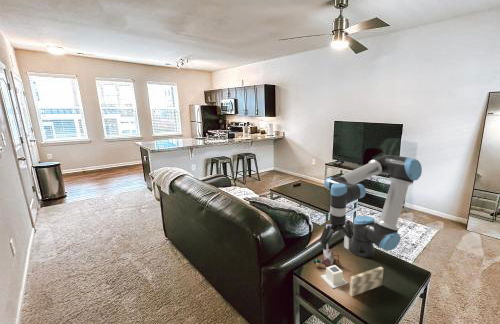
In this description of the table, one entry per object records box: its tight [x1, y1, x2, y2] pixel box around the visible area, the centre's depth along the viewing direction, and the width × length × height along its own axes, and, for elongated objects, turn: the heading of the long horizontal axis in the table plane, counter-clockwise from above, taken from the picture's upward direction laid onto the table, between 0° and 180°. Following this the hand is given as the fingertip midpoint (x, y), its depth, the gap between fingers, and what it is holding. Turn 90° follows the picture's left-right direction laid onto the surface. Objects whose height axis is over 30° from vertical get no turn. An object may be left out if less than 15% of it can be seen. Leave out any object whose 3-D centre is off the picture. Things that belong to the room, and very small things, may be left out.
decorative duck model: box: [313, 248, 340, 267], centre depth 141 cm, size 15×8×15 cm
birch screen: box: [349, 266, 385, 297], centre depth 118 cm, size 20×2×10 cm, turn 111°
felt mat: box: [320, 273, 349, 289], centre depth 127 cm, size 10×10×1 cm
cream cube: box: [325, 264, 344, 284], centre depth 126 cm, size 6×6×6 cm
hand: (336, 251), depth 123 cm, fingers open, 13 cm apart
